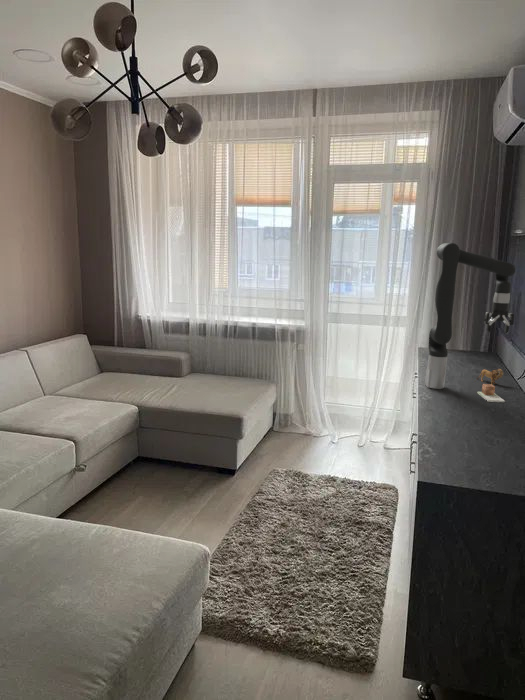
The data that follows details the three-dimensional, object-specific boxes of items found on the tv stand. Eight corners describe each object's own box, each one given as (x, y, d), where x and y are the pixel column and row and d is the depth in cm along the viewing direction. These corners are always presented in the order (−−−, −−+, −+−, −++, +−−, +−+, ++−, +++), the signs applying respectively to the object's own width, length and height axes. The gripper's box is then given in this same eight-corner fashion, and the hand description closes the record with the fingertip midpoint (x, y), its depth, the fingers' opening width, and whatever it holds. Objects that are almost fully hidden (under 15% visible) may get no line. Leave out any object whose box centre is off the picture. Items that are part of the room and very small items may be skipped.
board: (487, 401, 246) (488, 400, 246) (477, 393, 260) (477, 391, 260) (504, 402, 246) (504, 400, 246) (492, 393, 259) (493, 392, 259)
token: (484, 395, 254) (486, 386, 253) (481, 392, 258) (482, 383, 257) (494, 395, 254) (495, 386, 253) (490, 392, 258) (491, 384, 257)
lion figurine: (503, 385, 276) (505, 369, 274) (498, 386, 273) (500, 370, 271) (478, 378, 287) (480, 363, 285) (473, 380, 284) (475, 364, 282)
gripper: (490, 302, 257) (486, 333, 260) (518, 303, 256) (514, 334, 260) (484, 300, 264) (480, 330, 267) (512, 301, 263) (508, 331, 267)
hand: (497, 332), depth 264 cm, fingers open, 8 cm apart
